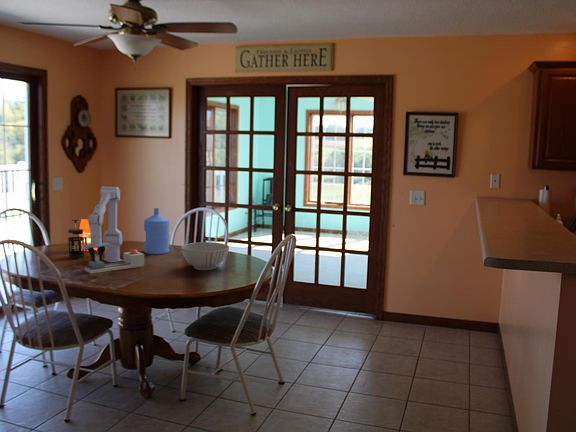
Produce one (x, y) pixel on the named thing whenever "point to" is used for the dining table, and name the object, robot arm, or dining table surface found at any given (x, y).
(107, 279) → the dining table surface
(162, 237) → the water jug
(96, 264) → the carriage
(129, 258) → the track
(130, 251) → the plunger
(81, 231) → the french press
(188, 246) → the decorative bowl
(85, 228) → the orange juice
